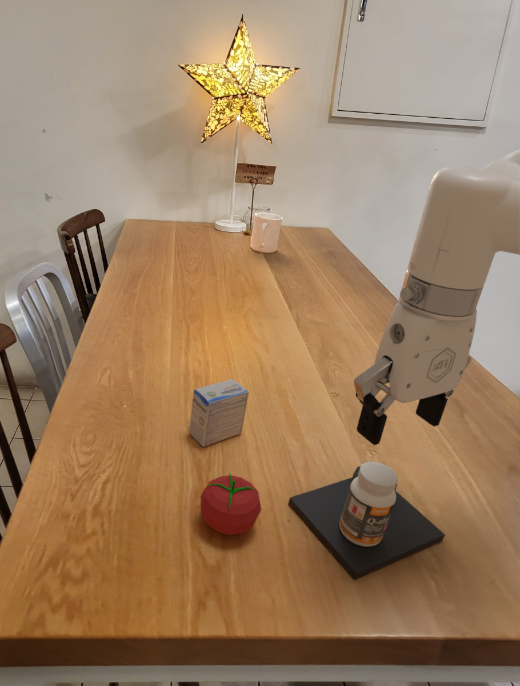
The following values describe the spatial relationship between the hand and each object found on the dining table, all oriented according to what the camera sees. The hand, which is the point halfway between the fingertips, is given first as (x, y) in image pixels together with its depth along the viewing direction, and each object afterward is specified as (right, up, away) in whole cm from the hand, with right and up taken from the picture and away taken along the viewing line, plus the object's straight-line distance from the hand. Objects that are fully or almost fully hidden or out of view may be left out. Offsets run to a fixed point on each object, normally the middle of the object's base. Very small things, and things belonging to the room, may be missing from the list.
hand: (397, 428), depth 64 cm
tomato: (-20, -14, +8) cm, 26 cm away
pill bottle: (-3, -15, +8) cm, 17 cm away
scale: (-1, -15, +11) cm, 18 cm away
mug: (-6, +44, +123) cm, 131 cm away
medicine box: (-22, -5, +25) cm, 34 cm away
